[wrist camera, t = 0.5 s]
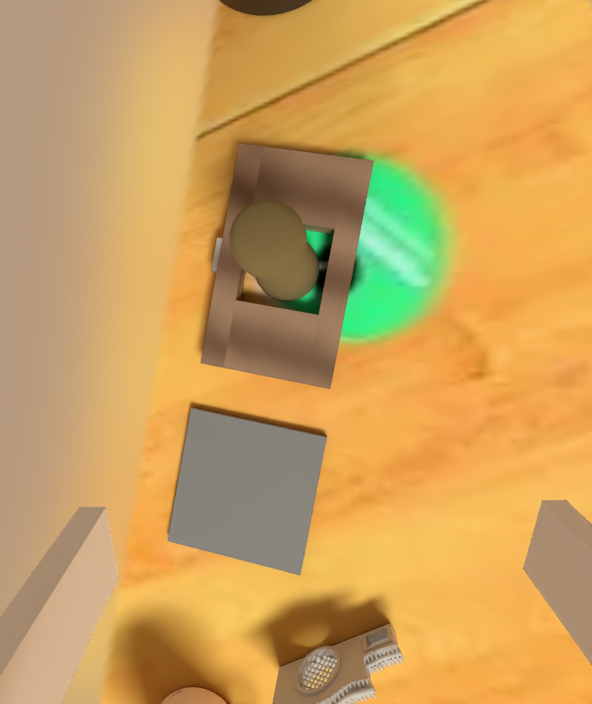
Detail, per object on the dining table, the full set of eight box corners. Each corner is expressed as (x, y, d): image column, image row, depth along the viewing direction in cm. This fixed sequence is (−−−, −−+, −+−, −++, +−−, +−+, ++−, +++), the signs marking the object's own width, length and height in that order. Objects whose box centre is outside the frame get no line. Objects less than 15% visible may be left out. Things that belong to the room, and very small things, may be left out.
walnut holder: (237, 151, 35) (233, 142, 33) (372, 169, 33) (373, 160, 32) (200, 361, 35) (194, 361, 34) (330, 387, 34) (330, 389, 32)
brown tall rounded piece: (244, 285, 35) (201, 257, 24) (271, 226, 34) (240, 169, 23) (302, 312, 34) (285, 295, 23) (330, 251, 34) (326, 206, 23)
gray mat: (193, 407, 35) (191, 408, 35) (326, 435, 34) (326, 437, 33) (170, 537, 36) (167, 540, 35) (300, 571, 34) (300, 575, 34)
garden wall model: (391, 618, 34) (402, 675, 28) (400, 636, 34) (413, 697, 28) (275, 664, 35) (262, 729, 29) (283, 682, 35) (272, 750, 29)
